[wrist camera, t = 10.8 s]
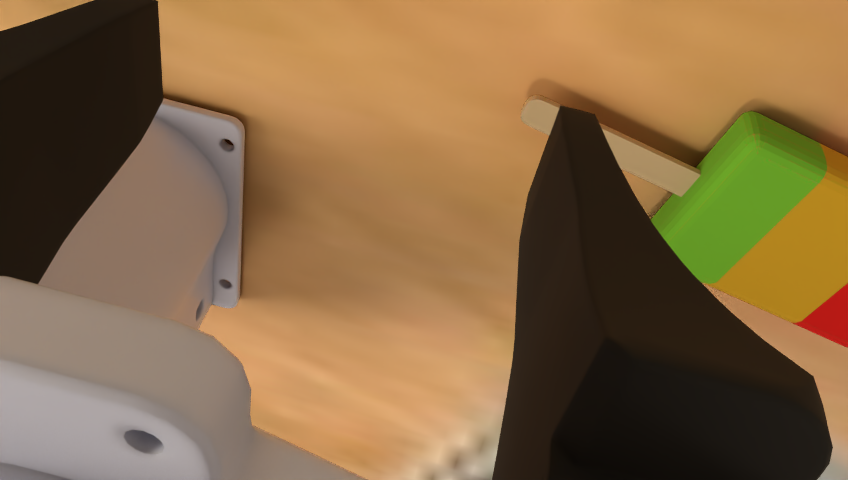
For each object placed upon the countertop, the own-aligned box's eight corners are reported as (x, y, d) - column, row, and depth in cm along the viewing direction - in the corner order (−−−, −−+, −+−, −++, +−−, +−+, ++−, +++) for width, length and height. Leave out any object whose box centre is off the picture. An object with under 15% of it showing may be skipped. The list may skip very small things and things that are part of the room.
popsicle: (868, 328, 28) (881, 369, 26) (487, 155, 26) (480, 189, 24) (1004, 226, 24) (1028, 268, 23) (572, 14, 22) (569, 45, 20)
